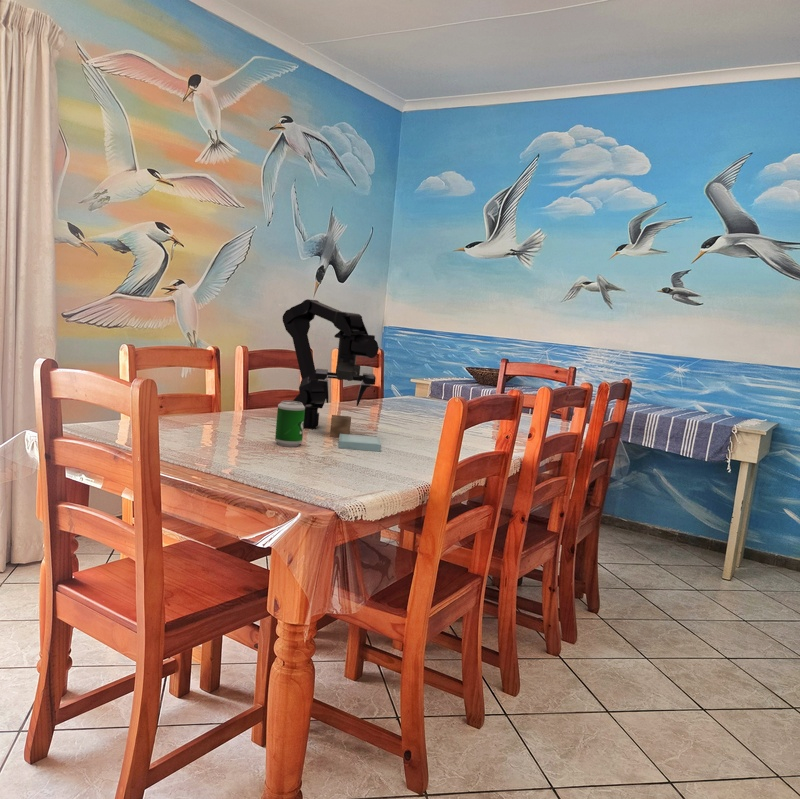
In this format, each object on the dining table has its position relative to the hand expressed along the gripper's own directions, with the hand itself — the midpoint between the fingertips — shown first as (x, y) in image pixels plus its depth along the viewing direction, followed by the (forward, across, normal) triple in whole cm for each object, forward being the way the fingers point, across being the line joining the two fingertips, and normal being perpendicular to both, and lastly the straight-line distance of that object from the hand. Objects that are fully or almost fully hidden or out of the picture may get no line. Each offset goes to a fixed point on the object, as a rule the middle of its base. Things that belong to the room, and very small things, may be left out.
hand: (342, 404), depth 214 cm
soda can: (+10, -14, -20) cm, 26 cm away
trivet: (+10, +6, -13) cm, 17 cm away
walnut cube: (+10, 0, 0) cm, 10 cm away
